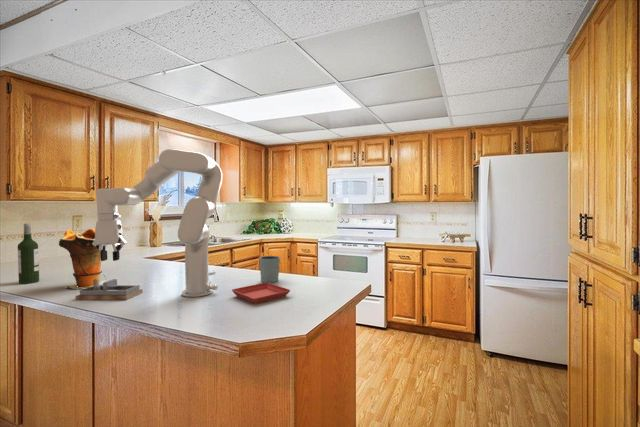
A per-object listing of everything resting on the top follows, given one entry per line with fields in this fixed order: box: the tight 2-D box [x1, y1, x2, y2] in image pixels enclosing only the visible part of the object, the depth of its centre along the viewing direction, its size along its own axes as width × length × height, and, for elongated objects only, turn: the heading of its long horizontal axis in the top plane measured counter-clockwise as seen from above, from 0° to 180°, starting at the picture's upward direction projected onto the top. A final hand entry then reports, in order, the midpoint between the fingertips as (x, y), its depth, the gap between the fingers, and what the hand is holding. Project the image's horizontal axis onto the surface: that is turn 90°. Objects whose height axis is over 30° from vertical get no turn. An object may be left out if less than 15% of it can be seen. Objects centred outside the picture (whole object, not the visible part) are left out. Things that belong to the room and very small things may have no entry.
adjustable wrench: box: [209, 270, 217, 276], centre depth 178 cm, size 25×6×2 cm, turn 166°
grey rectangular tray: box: [79, 278, 140, 296], centre depth 143 cm, size 20×9×5 cm, turn 87°
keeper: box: [75, 278, 144, 301], centre depth 143 cm, size 22×11×8 cm, turn 87°
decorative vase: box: [58, 227, 109, 290], centre depth 163 cm, size 21×23×28 cm
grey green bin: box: [259, 255, 281, 284], centre depth 168 cm, size 10×10×12 cm
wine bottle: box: [17, 222, 40, 285], centre depth 170 cm, size 8×8×30 cm
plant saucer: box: [231, 282, 291, 305], centre depth 140 cm, size 18×18×3 cm
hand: (110, 259), depth 143 cm, fingers open, 4 cm apart
